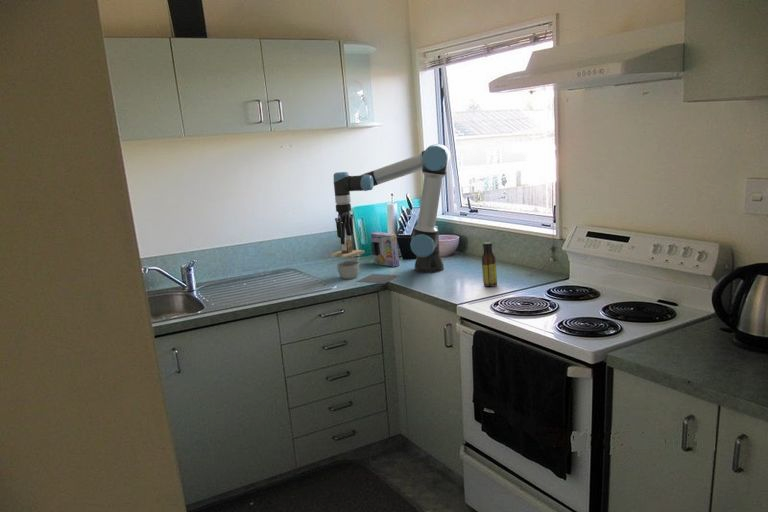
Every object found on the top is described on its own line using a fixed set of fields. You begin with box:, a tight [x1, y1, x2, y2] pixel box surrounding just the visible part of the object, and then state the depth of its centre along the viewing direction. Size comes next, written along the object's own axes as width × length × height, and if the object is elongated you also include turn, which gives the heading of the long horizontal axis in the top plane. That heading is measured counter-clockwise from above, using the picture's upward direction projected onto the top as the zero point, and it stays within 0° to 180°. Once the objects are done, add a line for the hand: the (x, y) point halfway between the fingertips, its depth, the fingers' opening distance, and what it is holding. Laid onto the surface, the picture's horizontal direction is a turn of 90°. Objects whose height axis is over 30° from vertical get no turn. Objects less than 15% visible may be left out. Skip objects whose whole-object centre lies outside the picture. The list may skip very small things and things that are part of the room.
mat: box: [356, 273, 400, 285], centre depth 287 cm, size 16×16×1 cm
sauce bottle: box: [481, 241, 498, 287], centre depth 259 cm, size 7×6×20 cm
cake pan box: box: [370, 231, 400, 267], centre depth 316 cm, size 19×5×18 cm, turn 37°
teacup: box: [337, 260, 360, 280], centre depth 294 cm, size 14×11×8 cm
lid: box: [329, 239, 365, 259], centre depth 292 cm, size 13×13×7 cm
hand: (346, 249), depth 292 cm, fingers closed on lid, 4 cm apart
